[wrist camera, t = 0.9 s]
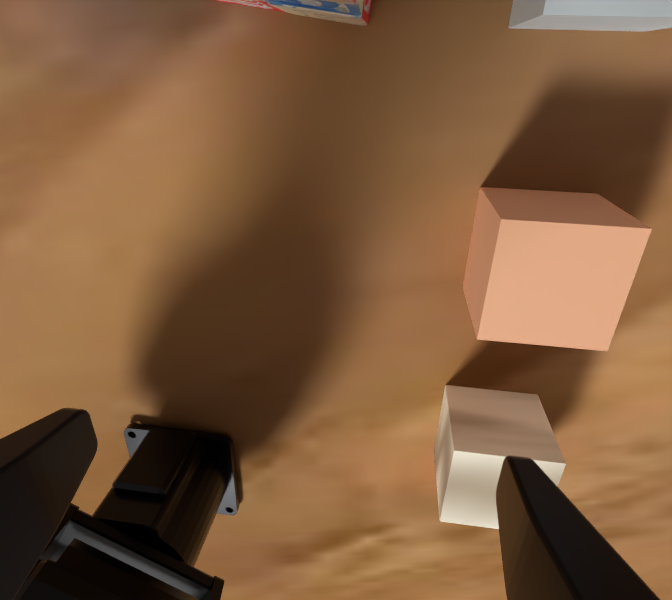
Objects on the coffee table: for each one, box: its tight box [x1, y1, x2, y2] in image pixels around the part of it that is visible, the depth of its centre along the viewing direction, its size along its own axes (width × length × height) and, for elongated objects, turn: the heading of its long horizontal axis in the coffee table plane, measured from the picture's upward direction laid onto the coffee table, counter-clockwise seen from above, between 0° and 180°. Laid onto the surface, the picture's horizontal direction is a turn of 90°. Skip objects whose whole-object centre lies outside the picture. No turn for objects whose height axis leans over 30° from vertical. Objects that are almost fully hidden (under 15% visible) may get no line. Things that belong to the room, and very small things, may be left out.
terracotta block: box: [463, 187, 652, 351], centre depth 17 cm, size 4×4×4 cm
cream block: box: [434, 385, 566, 529], centre depth 22 cm, size 4×4×4 cm
